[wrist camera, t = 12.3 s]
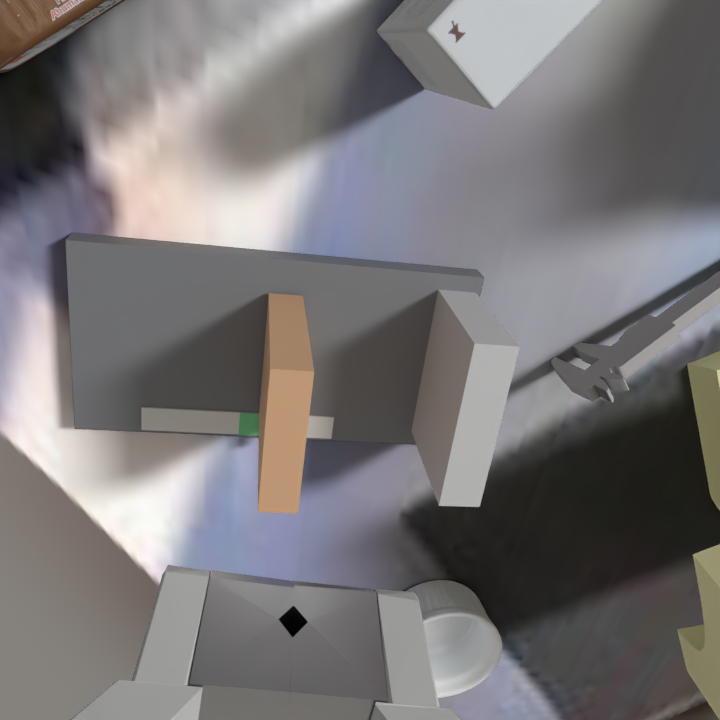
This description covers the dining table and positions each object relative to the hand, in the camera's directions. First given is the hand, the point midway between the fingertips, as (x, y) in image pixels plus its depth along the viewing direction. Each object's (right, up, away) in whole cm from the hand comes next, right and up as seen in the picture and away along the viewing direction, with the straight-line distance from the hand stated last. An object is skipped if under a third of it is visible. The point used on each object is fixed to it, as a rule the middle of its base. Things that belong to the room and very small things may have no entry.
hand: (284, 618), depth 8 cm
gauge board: (-4, +4, +35) cm, 35 cm away
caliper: (+22, +8, +37) cm, 44 cm away
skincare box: (+5, +21, +28) cm, 36 cm away
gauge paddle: (-4, +2, +34) cm, 34 cm away
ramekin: (+7, -17, +47) cm, 51 cm away
